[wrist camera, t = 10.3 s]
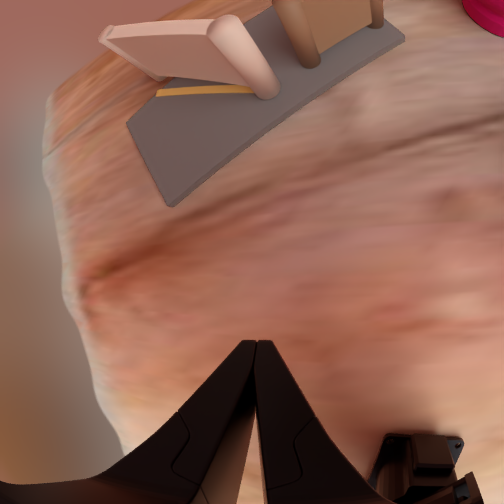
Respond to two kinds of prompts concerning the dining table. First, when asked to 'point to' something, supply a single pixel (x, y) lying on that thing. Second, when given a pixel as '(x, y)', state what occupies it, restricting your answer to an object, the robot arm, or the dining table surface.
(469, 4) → the pepper mill
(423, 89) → the dining table surface
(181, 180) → the board
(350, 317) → the dining table surface
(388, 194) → the dining table surface
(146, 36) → the fence gate
